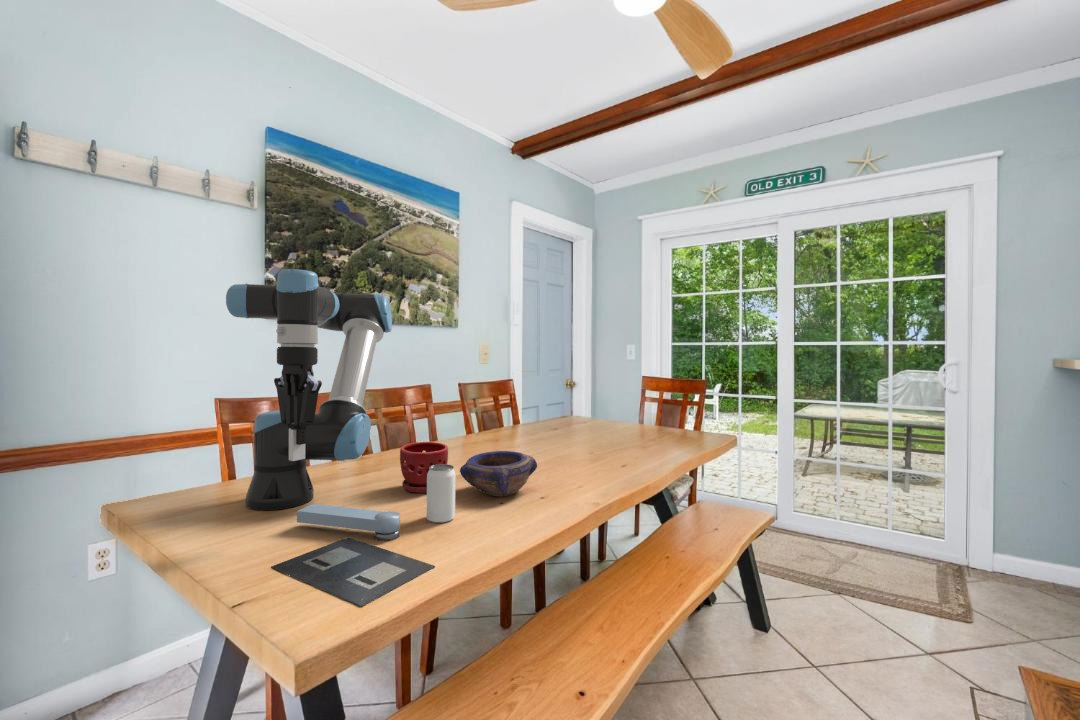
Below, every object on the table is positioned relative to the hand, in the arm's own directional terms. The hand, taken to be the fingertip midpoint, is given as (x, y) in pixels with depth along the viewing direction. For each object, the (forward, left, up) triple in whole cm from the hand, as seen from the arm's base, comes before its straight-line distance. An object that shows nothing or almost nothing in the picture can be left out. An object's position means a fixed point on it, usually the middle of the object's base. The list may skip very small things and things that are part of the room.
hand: (297, 459), depth 100 cm
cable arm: (+8, +7, -14) cm, 18 cm away
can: (+18, +24, -16) cm, 34 cm away
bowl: (+17, +48, -16) cm, 53 cm away
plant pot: (-2, +39, -16) cm, 42 cm away
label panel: (+22, -3, -16) cm, 27 cm away
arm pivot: (+16, +10, -16) cm, 25 cm away
